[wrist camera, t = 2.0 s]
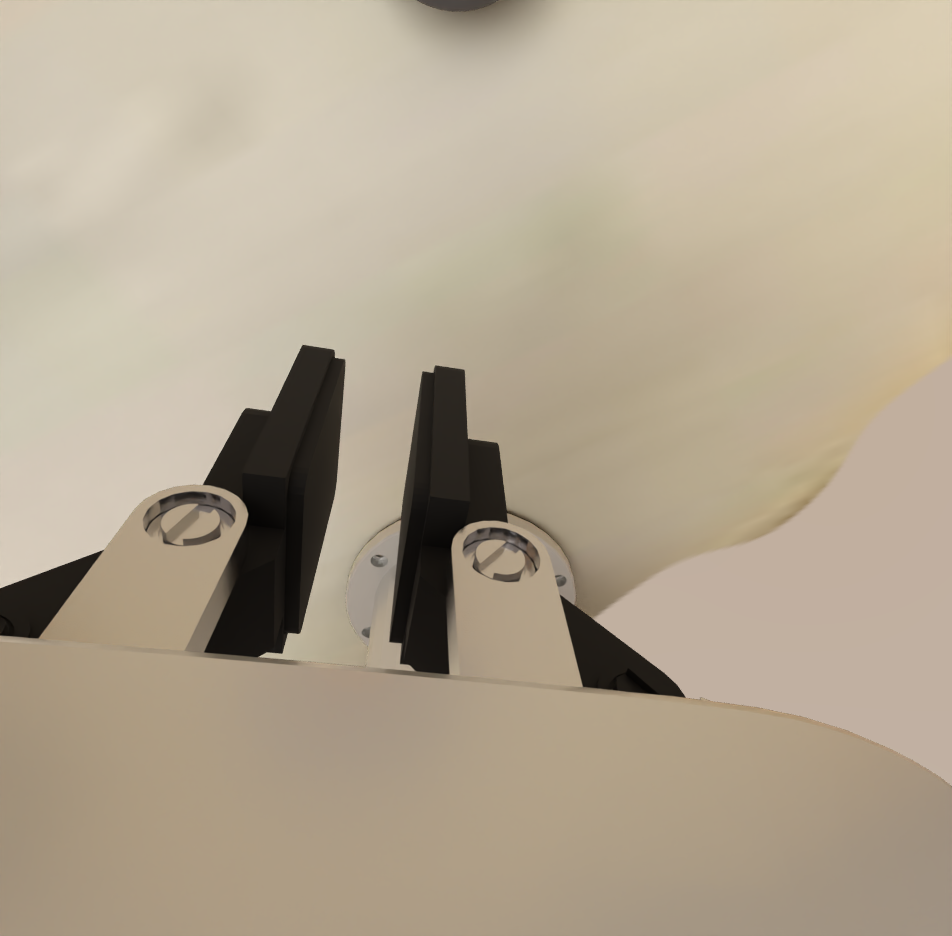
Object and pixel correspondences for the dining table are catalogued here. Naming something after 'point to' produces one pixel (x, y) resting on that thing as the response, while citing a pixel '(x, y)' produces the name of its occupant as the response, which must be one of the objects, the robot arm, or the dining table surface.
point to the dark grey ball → (457, 4)
